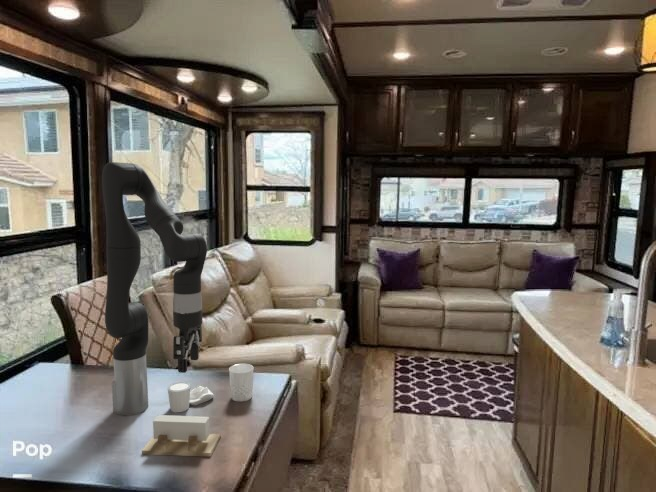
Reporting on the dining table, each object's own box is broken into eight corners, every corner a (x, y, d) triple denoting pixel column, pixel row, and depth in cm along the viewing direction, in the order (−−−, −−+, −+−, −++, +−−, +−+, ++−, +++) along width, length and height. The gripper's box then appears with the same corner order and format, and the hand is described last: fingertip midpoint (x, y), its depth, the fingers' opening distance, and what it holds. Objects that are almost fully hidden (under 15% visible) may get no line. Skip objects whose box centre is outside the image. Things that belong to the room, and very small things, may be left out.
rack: (142, 454, 117) (141, 437, 116) (156, 435, 126) (156, 419, 125) (210, 456, 116) (210, 440, 115) (220, 437, 125) (220, 422, 124)
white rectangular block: (153, 438, 119) (152, 421, 119) (158, 432, 123) (158, 415, 122) (206, 440, 119) (205, 422, 118) (209, 434, 122) (209, 416, 121)
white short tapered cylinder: (195, 404, 144) (195, 383, 143) (182, 414, 137) (181, 392, 136) (177, 401, 146) (177, 380, 145) (163, 410, 140) (162, 389, 139)
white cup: (231, 392, 153) (230, 363, 152) (254, 391, 153) (254, 363, 152) (228, 403, 145) (227, 373, 144) (252, 402, 146) (252, 372, 144)
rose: (209, 393, 142) (178, 393, 142) (209, 407, 143) (178, 407, 143) (216, 380, 152) (187, 380, 152) (217, 393, 153) (188, 393, 153)
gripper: (184, 300, 129) (185, 355, 131) (162, 314, 115) (164, 375, 117) (210, 301, 128) (210, 356, 130) (191, 316, 114) (192, 377, 116)
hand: (188, 365), depth 124 cm, fingers open, 8 cm apart
